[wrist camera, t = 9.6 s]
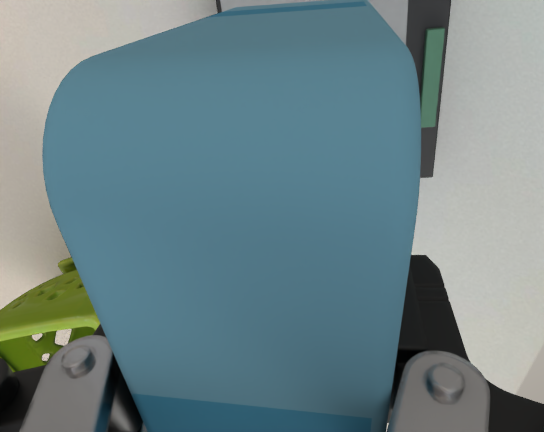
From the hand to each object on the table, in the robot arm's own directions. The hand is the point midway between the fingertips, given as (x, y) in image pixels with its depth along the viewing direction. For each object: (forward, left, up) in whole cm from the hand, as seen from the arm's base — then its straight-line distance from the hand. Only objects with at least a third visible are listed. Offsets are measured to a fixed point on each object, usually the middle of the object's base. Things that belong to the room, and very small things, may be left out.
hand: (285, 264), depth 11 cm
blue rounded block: (0, 0, -8) cm, 8 cm away
